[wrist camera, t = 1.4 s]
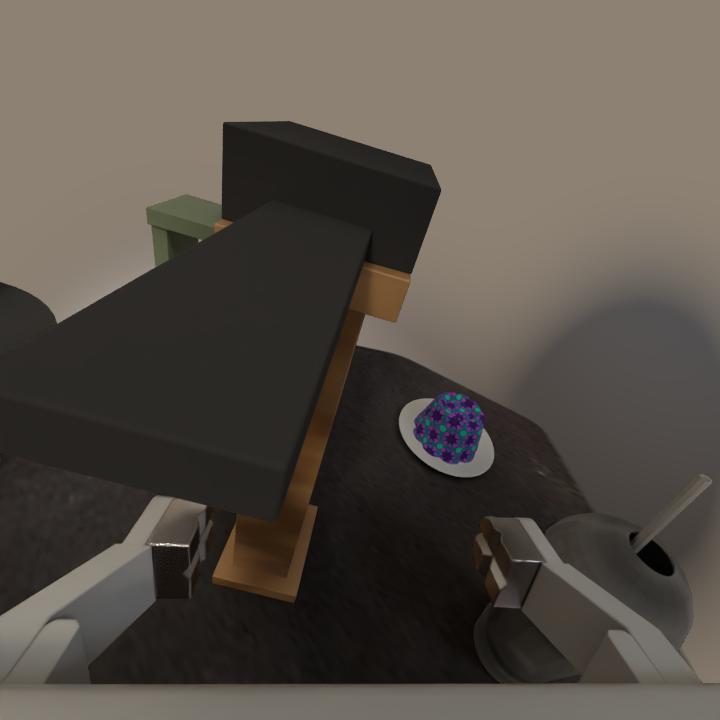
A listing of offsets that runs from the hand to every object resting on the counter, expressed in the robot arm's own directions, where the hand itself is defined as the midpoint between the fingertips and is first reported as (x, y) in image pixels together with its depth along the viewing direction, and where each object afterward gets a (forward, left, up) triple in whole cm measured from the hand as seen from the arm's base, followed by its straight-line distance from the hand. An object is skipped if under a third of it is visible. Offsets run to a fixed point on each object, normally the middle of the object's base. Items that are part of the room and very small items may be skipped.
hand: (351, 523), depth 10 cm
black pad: (-3, +3, +6) cm, 8 cm away
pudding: (+13, +25, -19) cm, 34 cm away
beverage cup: (+16, +5, -19) cm, 25 cm away
